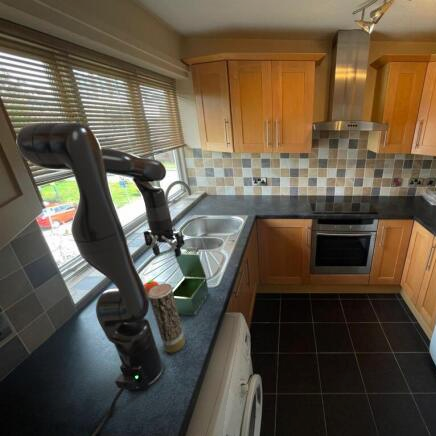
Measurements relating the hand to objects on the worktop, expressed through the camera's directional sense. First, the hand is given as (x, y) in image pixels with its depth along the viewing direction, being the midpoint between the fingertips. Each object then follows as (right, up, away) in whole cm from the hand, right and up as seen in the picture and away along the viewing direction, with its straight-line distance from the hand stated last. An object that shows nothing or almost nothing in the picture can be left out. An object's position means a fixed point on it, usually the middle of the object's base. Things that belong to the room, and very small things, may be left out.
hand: (168, 255), depth 92 cm
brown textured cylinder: (+6, -32, -6) cm, 33 cm away
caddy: (+3, -24, +14) cm, 28 cm away
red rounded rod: (+3, -23, +13) cm, 27 cm away
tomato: (-17, -21, +20) cm, 34 cm away
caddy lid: (+4, -7, +12) cm, 14 cm away
